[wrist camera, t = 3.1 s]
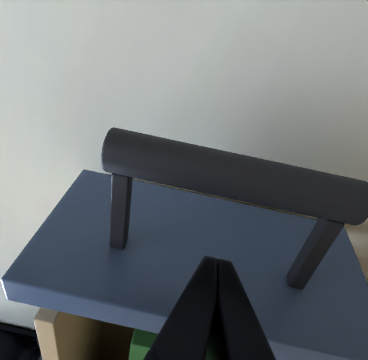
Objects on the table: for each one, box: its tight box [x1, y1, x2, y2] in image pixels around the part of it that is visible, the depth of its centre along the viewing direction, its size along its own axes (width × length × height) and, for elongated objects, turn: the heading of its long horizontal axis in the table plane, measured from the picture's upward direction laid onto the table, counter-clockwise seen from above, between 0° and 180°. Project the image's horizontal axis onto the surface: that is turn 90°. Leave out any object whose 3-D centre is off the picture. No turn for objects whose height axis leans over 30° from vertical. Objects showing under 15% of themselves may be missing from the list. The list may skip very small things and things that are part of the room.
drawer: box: [1, 128, 368, 360], centre depth 17 cm, size 23×13×7 cm, turn 171°
